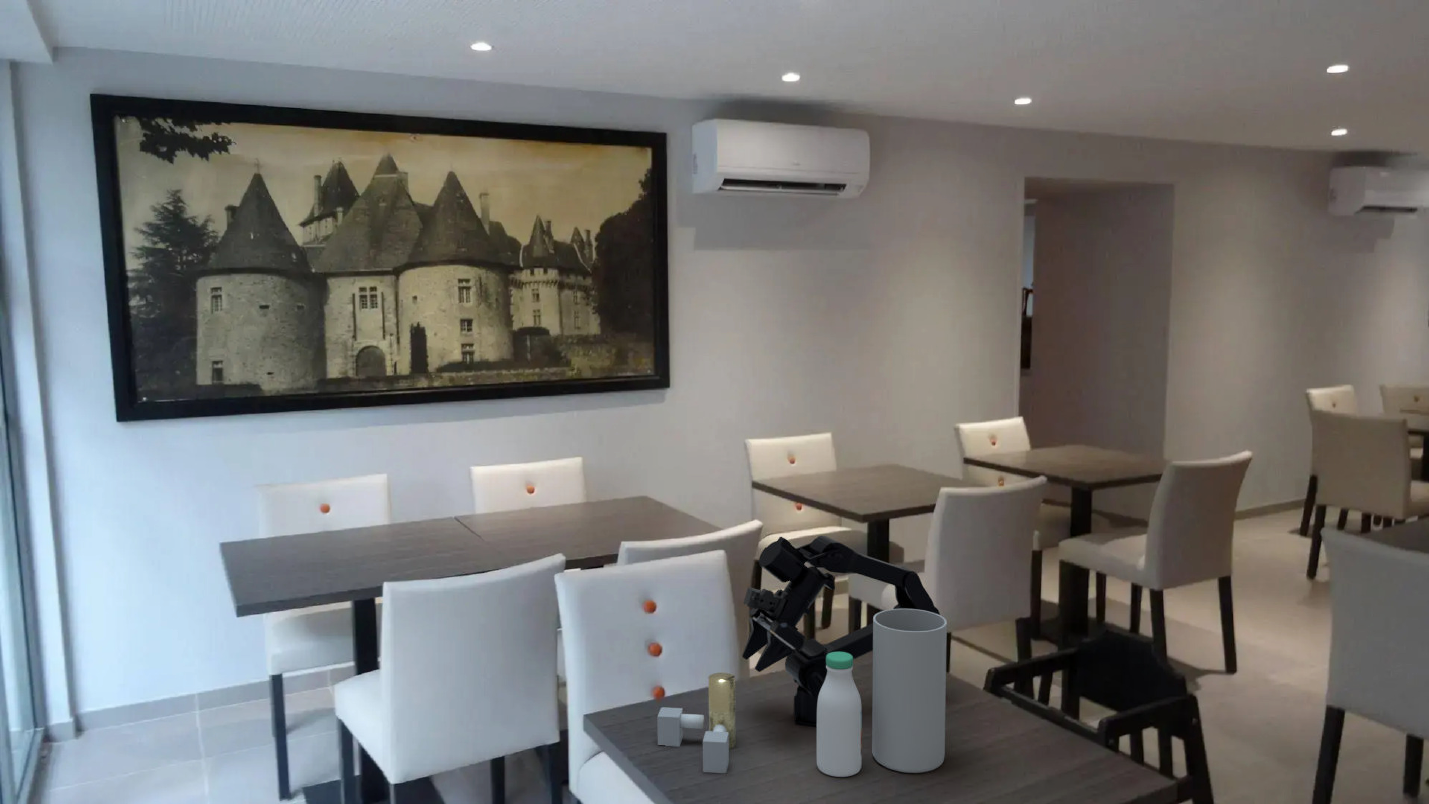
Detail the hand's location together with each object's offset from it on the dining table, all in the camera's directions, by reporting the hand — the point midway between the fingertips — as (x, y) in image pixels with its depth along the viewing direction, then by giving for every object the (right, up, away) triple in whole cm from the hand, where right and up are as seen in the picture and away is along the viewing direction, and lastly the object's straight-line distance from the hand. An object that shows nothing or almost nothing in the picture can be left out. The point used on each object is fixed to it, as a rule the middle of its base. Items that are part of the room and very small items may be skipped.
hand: (750, 664), depth 181 cm
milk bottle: (+15, -14, -14) cm, 25 cm away
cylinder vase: (+27, -14, -10) cm, 32 cm away
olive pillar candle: (-5, -13, -4) cm, 15 cm away
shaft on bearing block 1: (-13, -13, -3) cm, 19 cm away
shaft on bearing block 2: (-6, -14, -11) cm, 19 cm away
